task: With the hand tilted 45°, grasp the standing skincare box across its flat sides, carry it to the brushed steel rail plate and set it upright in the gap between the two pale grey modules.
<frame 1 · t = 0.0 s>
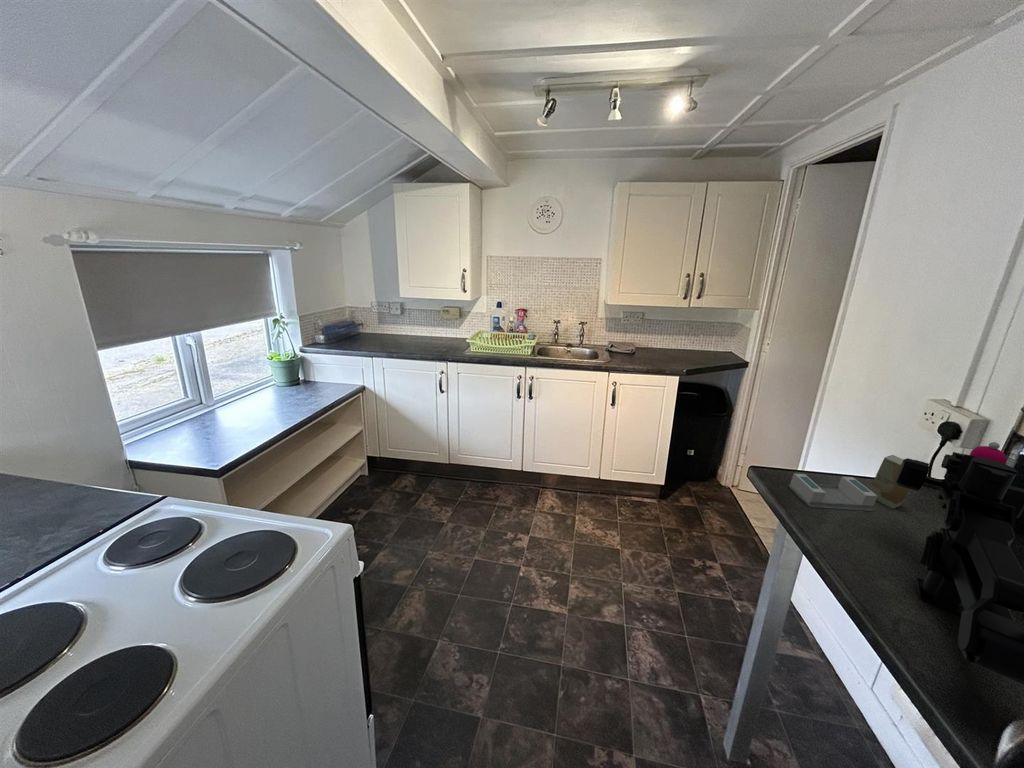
hand: (949, 471, 93), 17 cm above the table, tool horizontal, fingers open, 9 cm apart
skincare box: (883, 501, 110), on the table
rail board: (828, 498, 109), on the table
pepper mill: (959, 510, 108), on the table
mounted modules: (828, 498, 109), resting on rail board
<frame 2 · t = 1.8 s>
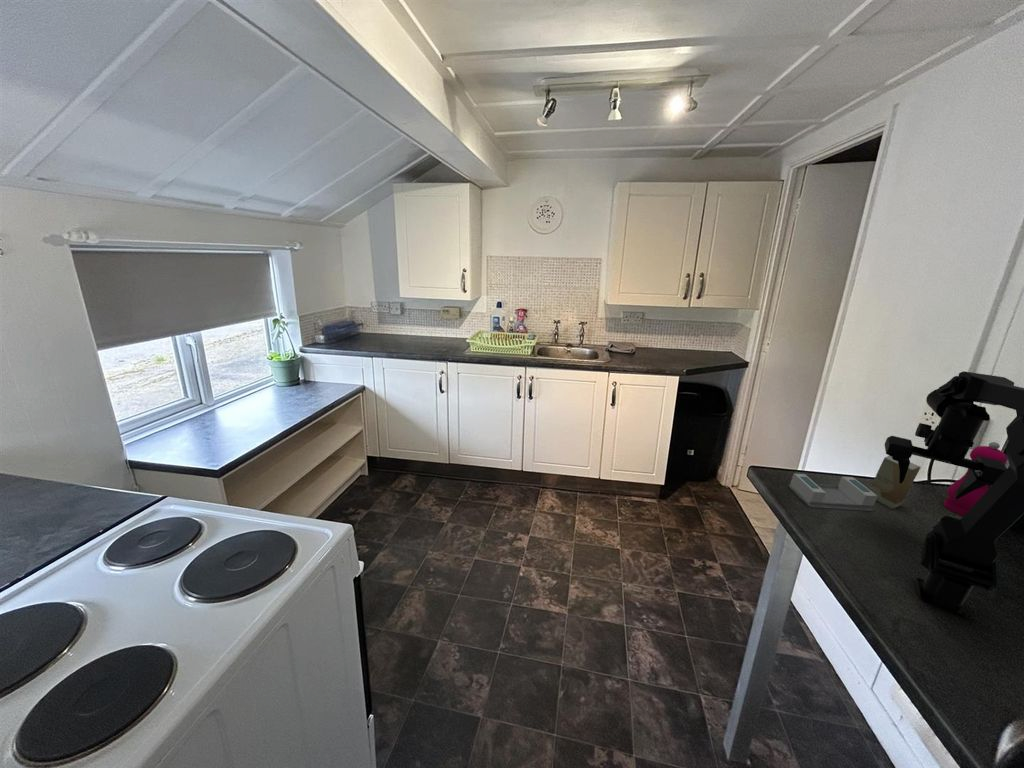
hand: (927, 490, 93), 12 cm above the table, tool pointing down, fingers open, 9 cm apart
nothing on the table moved.
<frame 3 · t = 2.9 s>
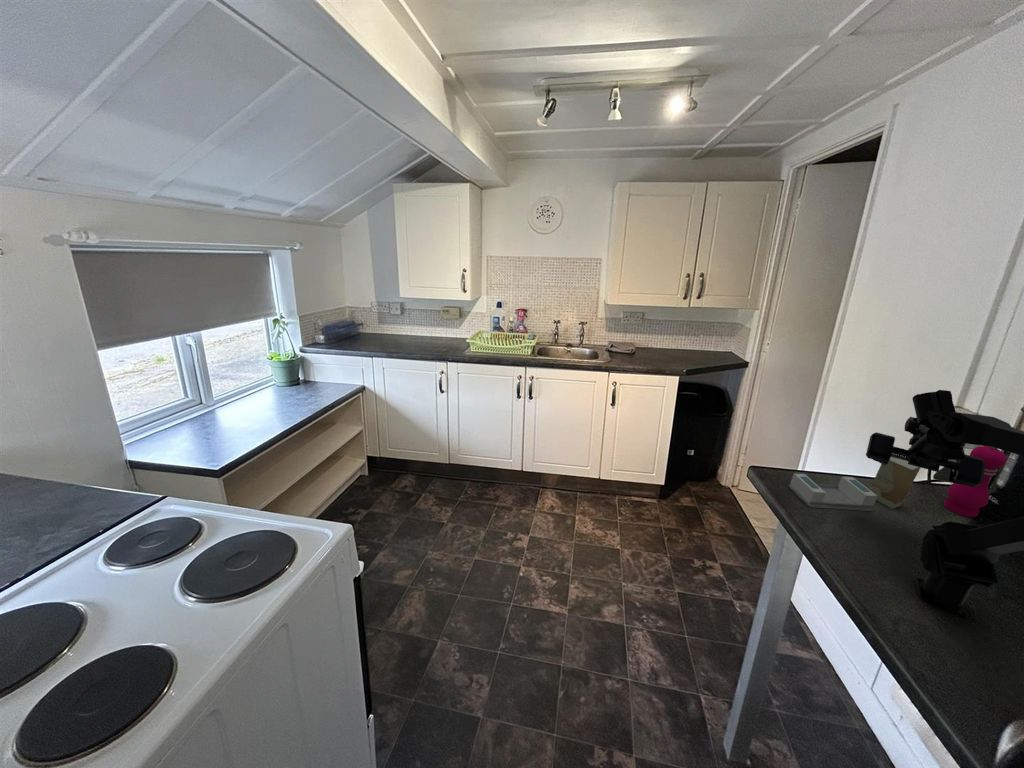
hand: (908, 470, 99), 14 cm above the table, tool tilted 45°, fingers open, 9 cm apart
nothing on the table moved.
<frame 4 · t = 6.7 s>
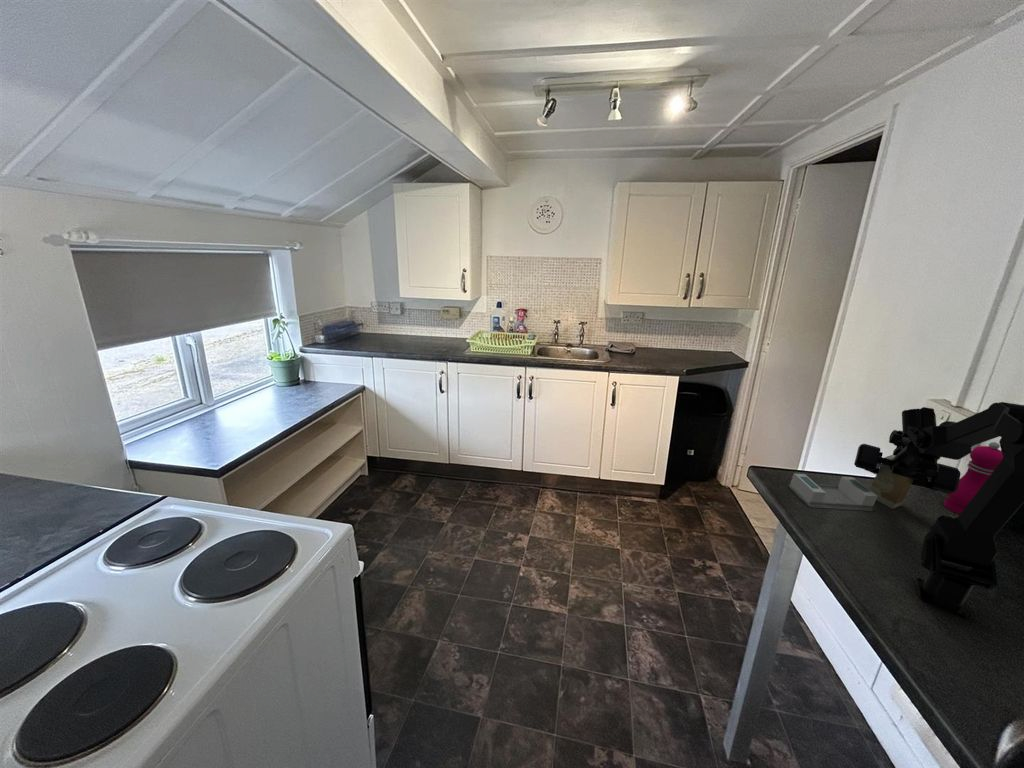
hand: (893, 477, 108), 7 cm above the table, tool tilted 45°, fingers closed on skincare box, 7 cm apart
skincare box: (883, 501, 110), on the table, touching gripper
everything else where it was.
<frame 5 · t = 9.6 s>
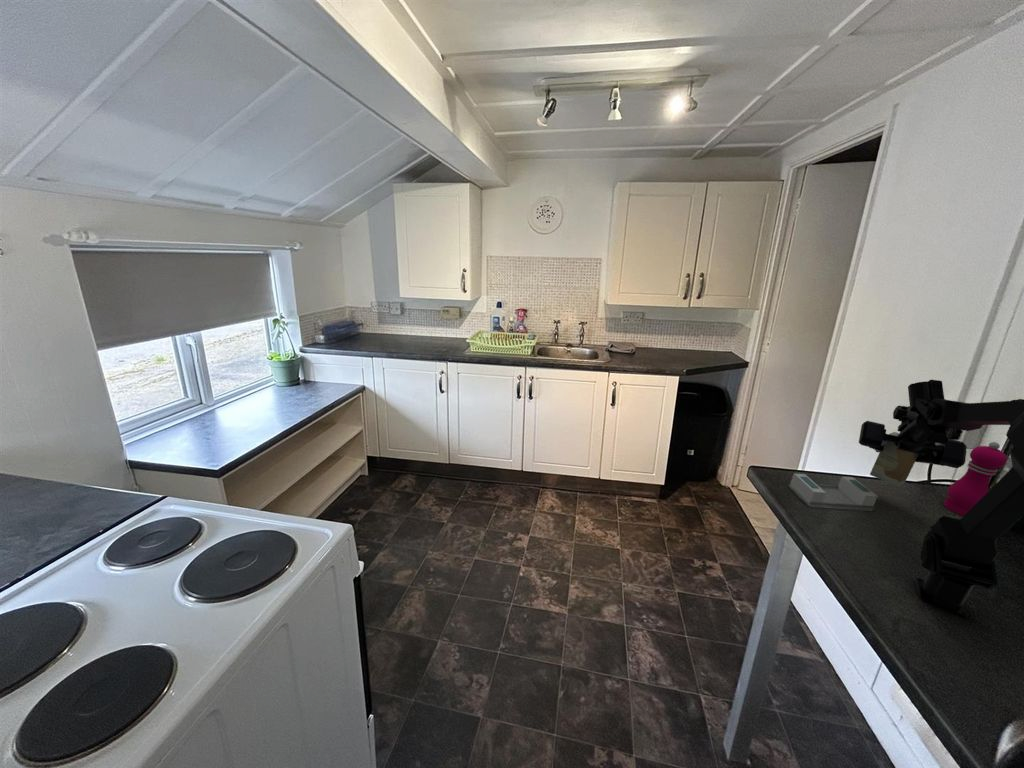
hand: (896, 455, 106), 13 cm above the table, tool tilted 45°, fingers closed on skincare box, 7 cm apart
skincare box: (887, 480, 107), point 6 cm above the table, touching gripper
everything else where it was.
when the fingers open (8 cm above the table, at t = 12.9 s): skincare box stays where it is, resting on rail board.
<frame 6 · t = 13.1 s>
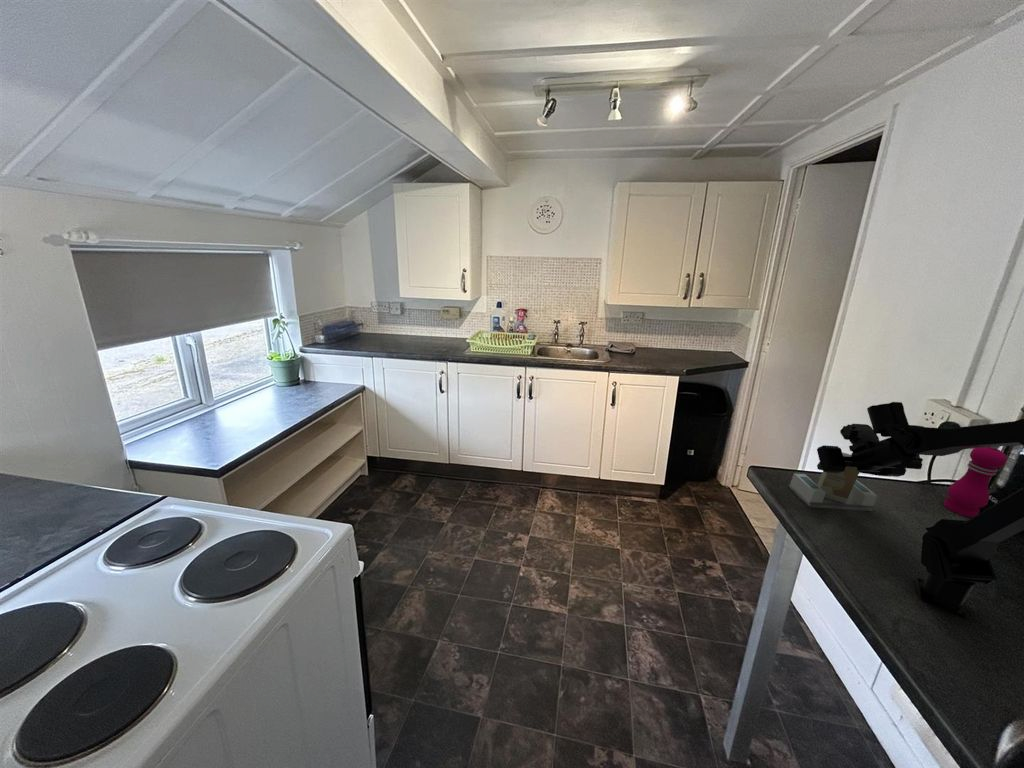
hand: (835, 468, 108), 8 cm above the table, tool tilted 45°, fingers open, 9 cm apart
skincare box: (830, 496, 109), point 1 cm above the table, touching rail board
everything else where it was.
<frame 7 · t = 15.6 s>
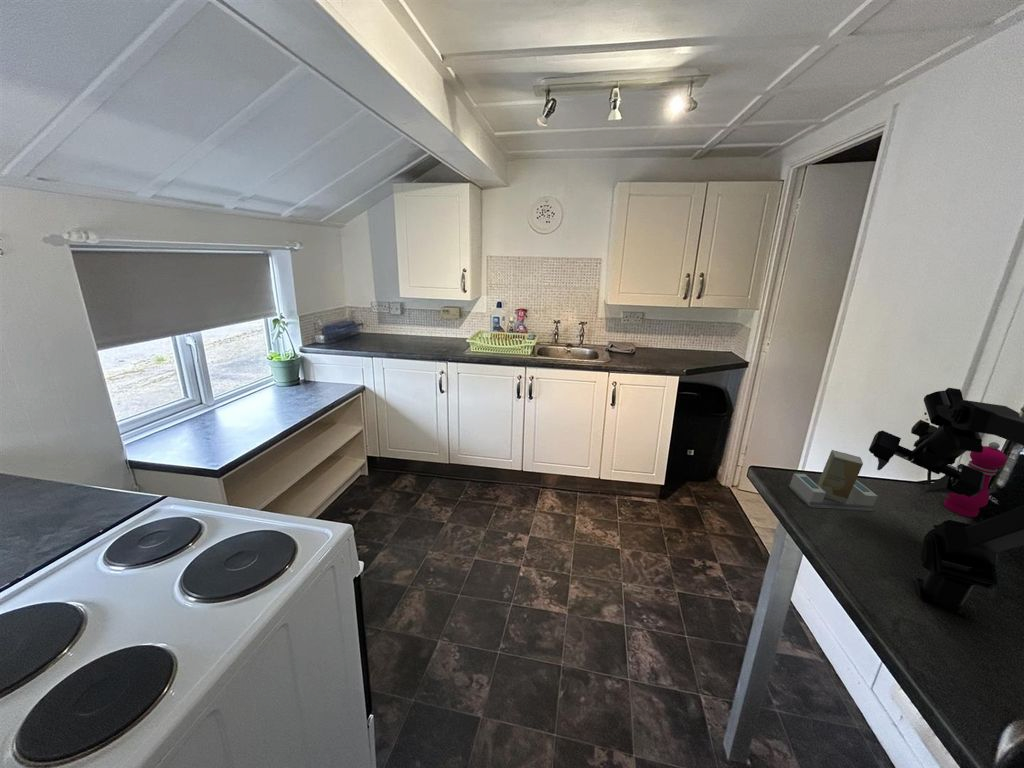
hand: (901, 479, 97), 12 cm above the table, tool tilted 30°, fingers open, 9 cm apart
nothing on the table moved.
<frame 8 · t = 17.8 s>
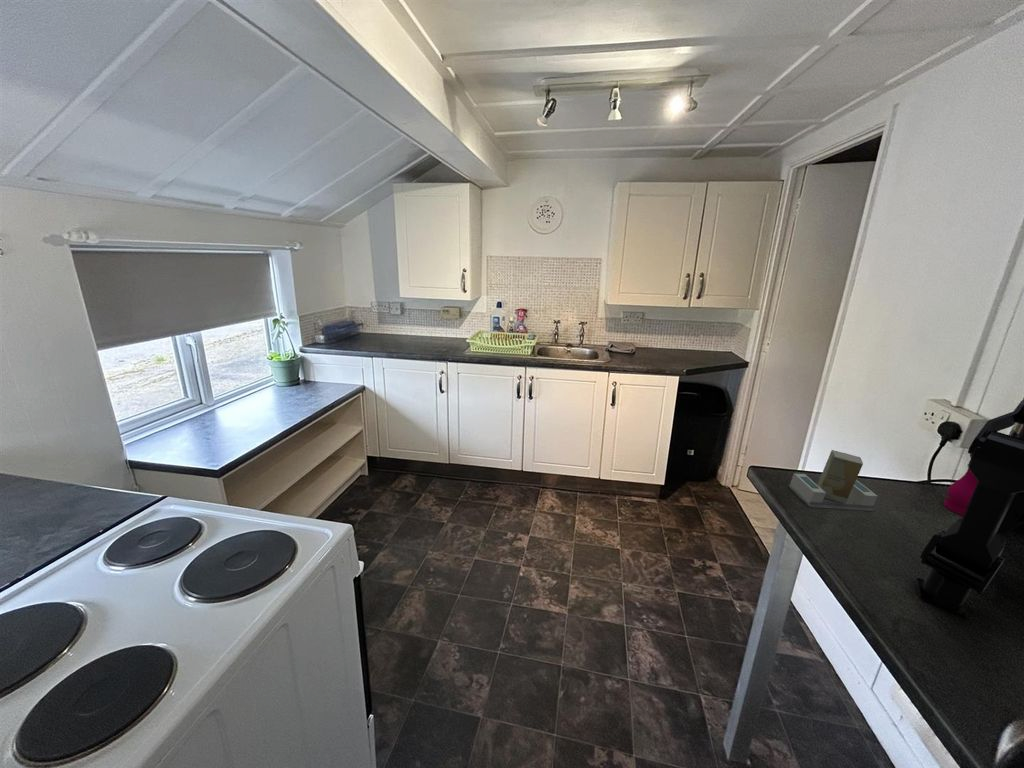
hand: (994, 520, 83), 13 cm above the table, tool pointing down, fingers open, 9 cm apart
nothing on the table moved.
at the end: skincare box 0.2 cm off-centre on the rail board, point 0.6 cm above the rail board's base; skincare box tilted 0°; the gripper is holding nothing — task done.
